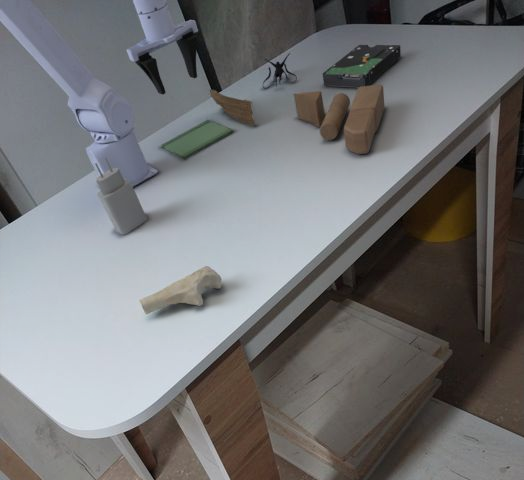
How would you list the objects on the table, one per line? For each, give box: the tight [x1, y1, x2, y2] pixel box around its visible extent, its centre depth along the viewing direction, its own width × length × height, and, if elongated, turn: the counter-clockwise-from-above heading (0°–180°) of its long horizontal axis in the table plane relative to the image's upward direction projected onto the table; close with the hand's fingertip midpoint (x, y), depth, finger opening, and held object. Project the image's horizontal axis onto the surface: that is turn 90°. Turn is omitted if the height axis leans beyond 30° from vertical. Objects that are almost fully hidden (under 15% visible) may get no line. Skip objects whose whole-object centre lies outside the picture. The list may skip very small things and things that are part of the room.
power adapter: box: [95, 157, 148, 236], centre depth 86 cm, size 3×5×12 cm, turn 134°
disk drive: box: [322, 44, 402, 89], centre depth 111 cm, size 10×3×15 cm
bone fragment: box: [138, 265, 222, 315], centre depth 71 cm, size 5×11×4 cm, turn 111°
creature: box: [262, 52, 298, 90], centre depth 117 cm, size 8×5×8 cm
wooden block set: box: [293, 84, 385, 155], centre depth 94 cm, size 17×6×18 cm
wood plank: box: [209, 89, 257, 127], centre depth 109 cm, size 15×2×5 cm, turn 35°
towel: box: [160, 119, 234, 160], centre depth 108 cm, size 12×10×1 cm
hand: (178, 85), depth 105 cm, fingers open, 7 cm apart
